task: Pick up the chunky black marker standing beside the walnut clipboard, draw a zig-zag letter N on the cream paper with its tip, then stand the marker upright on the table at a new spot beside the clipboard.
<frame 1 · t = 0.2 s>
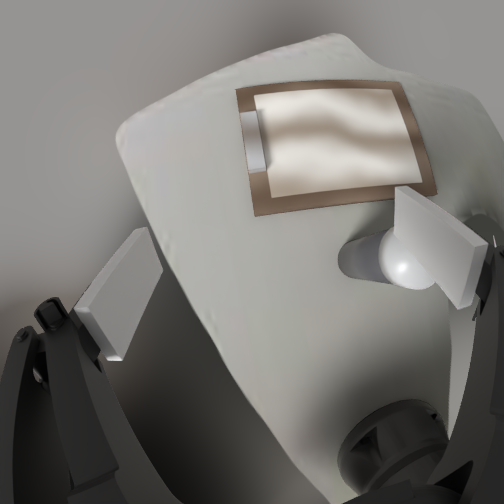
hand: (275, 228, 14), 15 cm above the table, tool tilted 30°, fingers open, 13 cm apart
clipboard: (339, 137, 29), on the table
marker: (355, 259, 28), on the table
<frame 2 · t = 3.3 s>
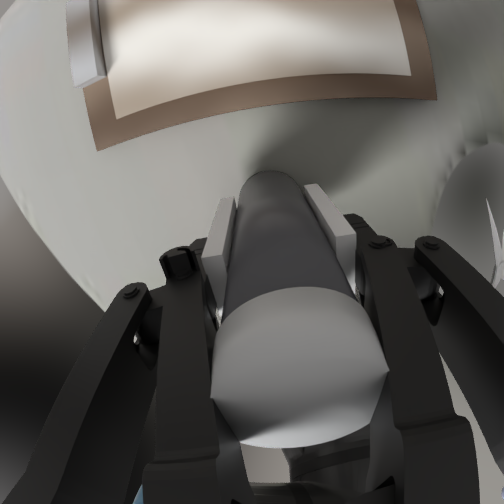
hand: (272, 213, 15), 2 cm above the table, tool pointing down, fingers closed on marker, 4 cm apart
scissors: (497, 264, 21), on the table
marker: (270, 201, 17), on the table, touching gripper
when the fingers open (4 cm above the table, at t = 22.6 s): marker stays where it is, on the table.
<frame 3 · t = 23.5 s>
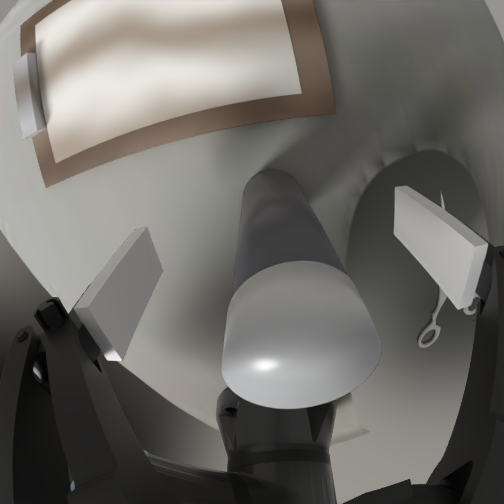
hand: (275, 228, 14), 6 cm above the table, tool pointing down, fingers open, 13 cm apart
clipboard: (146, 38, 13), on the table
scissors: (443, 278, 23), on the table
marker: (272, 198, 19), on the table
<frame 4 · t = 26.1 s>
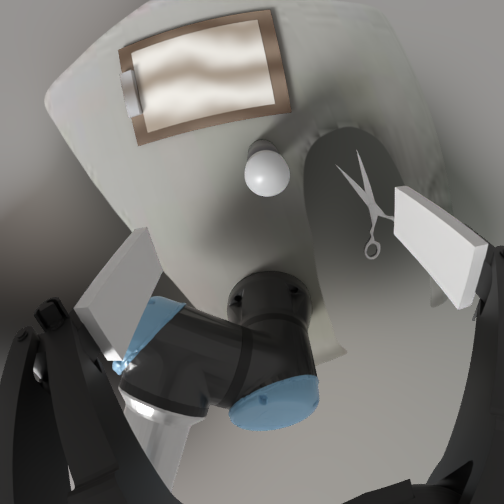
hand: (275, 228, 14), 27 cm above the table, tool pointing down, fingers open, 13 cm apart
clipboard: (200, 73, 31), on the table
scissors: (373, 206, 41), on the table
marker: (262, 153, 37), on the table
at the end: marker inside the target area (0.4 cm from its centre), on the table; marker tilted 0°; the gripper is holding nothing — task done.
